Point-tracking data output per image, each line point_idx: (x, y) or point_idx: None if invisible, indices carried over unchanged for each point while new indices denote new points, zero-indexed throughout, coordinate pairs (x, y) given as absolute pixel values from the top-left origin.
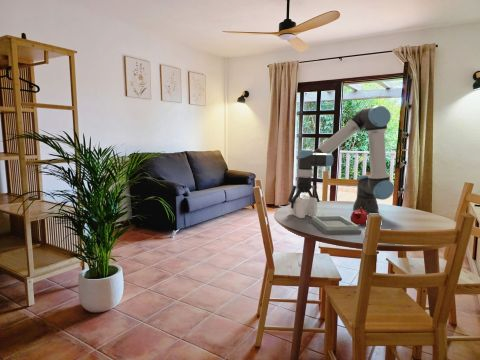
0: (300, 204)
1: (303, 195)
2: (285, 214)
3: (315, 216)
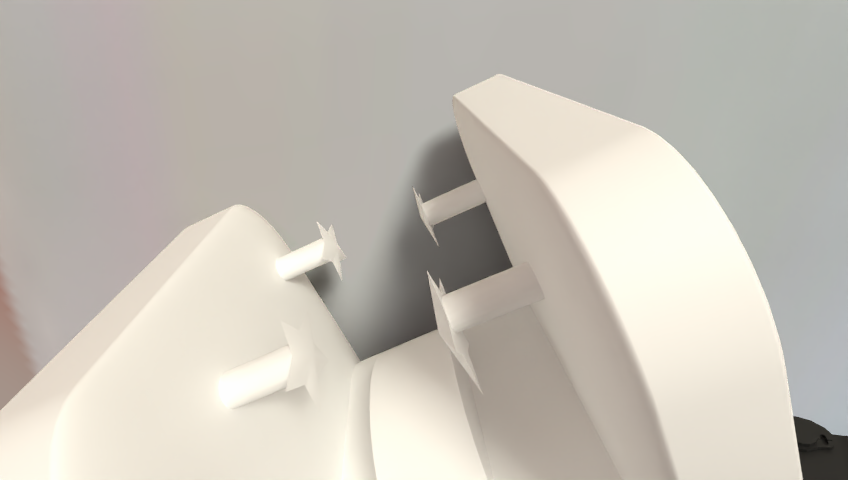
0: None
1: (602, 311)
2: (137, 253)
3: None
